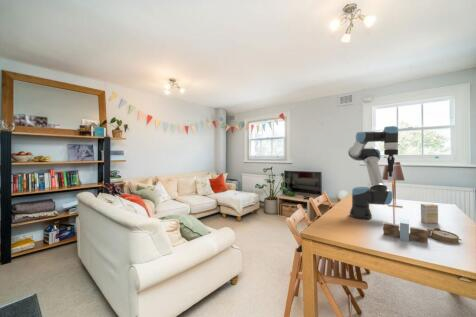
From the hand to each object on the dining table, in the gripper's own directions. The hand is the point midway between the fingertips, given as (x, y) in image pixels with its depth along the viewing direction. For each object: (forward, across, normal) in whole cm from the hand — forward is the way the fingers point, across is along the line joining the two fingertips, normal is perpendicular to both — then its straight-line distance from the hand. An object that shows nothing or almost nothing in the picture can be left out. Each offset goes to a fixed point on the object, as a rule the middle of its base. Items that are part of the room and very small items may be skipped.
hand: (391, 180), depth 138 cm
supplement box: (+32, +27, -21) cm, 47 cm away
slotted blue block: (+32, -18, -7) cm, 37 cm away
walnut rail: (+32, -18, -7) cm, 37 cm away
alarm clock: (+32, -5, -24) cm, 40 cm away
